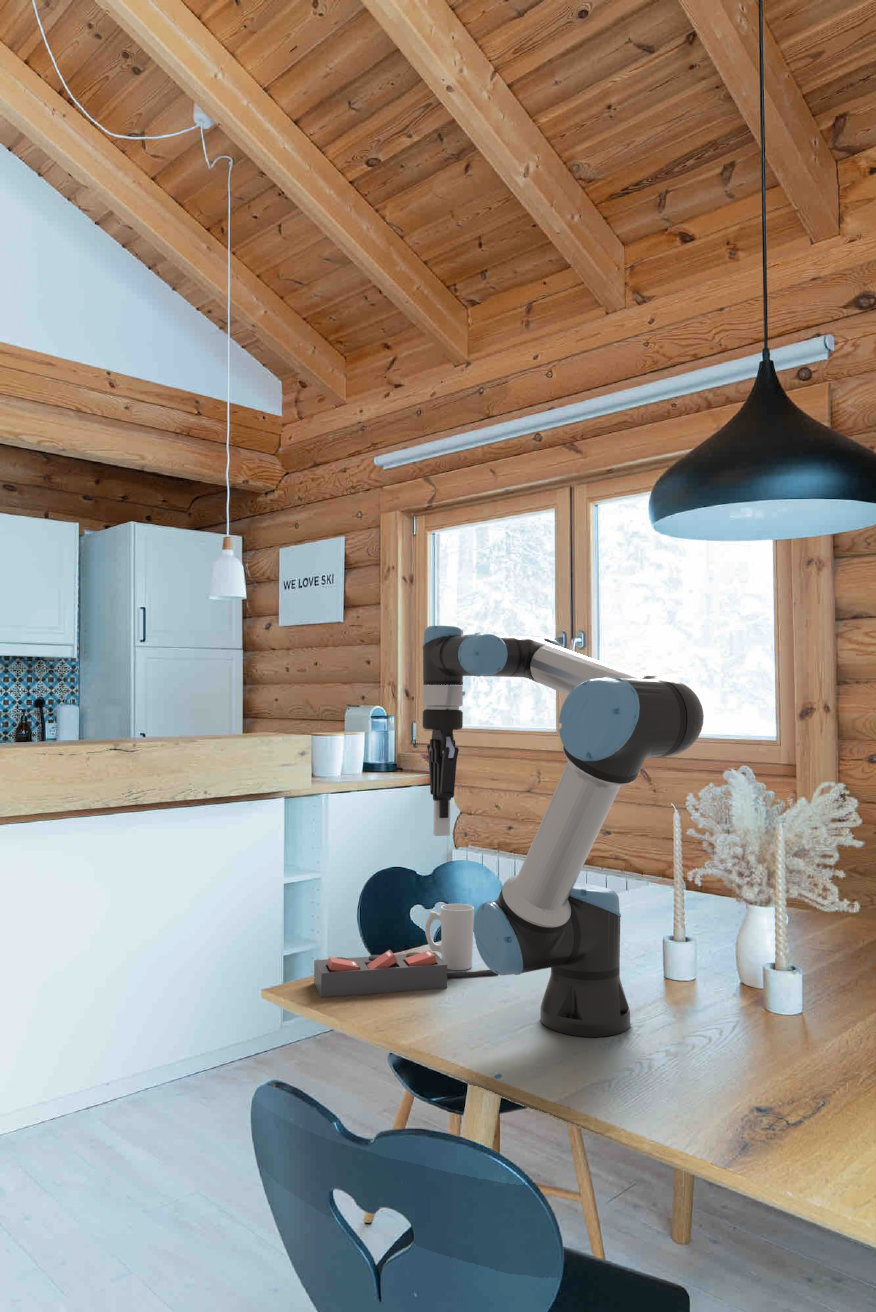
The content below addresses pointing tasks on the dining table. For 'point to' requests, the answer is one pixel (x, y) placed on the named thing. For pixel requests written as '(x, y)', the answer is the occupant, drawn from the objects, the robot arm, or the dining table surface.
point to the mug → (454, 935)
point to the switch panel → (384, 976)
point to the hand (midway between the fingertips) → (441, 834)
